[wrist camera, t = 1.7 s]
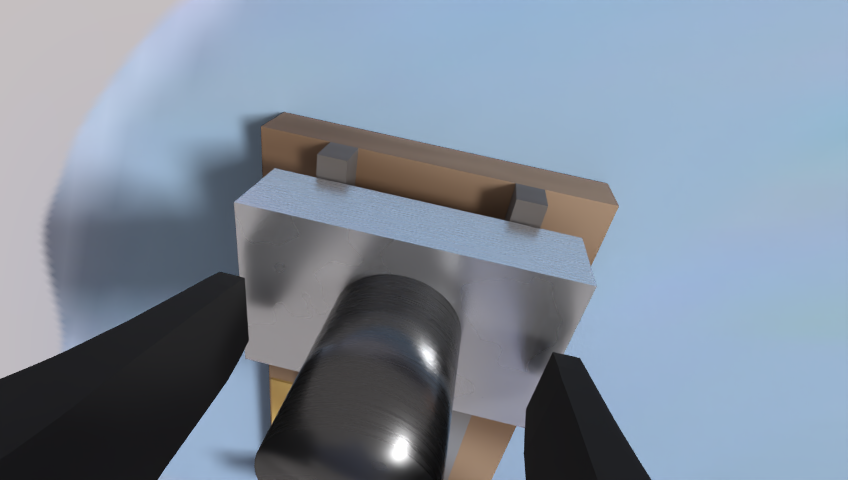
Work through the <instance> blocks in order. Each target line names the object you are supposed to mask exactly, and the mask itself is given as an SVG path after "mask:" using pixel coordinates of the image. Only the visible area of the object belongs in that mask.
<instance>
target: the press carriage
mask: <svg viewBox="0 0 848 480" xmlns="http://www.w3.org/2000/svg"><path fill="white" fill-rule="evenodd" d="M234 210H235V223H236V237H237V250H238V263H239V277H243V278H245V288H246V303H247V318H248V333H249V342H248V344H247V346H246V347H245V357H246V359H249V360H253V361H257V362H261V363H265V364H269V365H273V366H277V367H281V368H285V369H289V370H293V371H297V372H299V373H298V375H297V377H296V379H295V381H294V383H293V385H292V386H291V388H290V390H289V392H288V394H287V396H286V398H285V400H284V402H283V404H282V406H281V408H280V409H279V411H278V413H277V415H276V417H275V419H274V421H273V423H272V425H271V427H270V429H269V431H268V433H267V434H266V436H265V438H264V440H263V442H262V444H261V446H260V448H259V450H258V452H257V454H256V457H255V465H254V467H255V472H256V476H257V478H258V480H444V475H445V467H446V458H447V450H448V442H449V434H450V425H451V417H452V410H454V411H458V412H462V413H466V414H470V415H474V416H478V417H482V418H486V419H490V420H494V421H498V422H502V423H507V424H511V425H515V426H519V427H523V428H525V416H526V408H527V405H528V403H529V401H530V399H531V397H532V395H533V393H534V391H535V388H536V386H537V384H538V382H539V380H540V378H541V376H542V374H543V371H544V369H545V367H546V365H547V363H548V361H549V359H550V356H551V354H552V352H556V353H560V354H564V352H565V350H566V348H567V346H568V344H569V342H570V340H571V338H572V336H573V333H574V331H575V329H576V327H577V325H578V323H579V321H580V319H581V317H582V315H583V313H584V311H585V309H586V307H587V305H588V303H589V301H590V299H591V297H592V295H593V293H594V291H595V289H596V287H597V286H596V283H595V279H594V276H593V272H592V269H591V266H590V262H589V259H588V255H587V252H586V249H585V245H584V242H583V239H582V238H580V237H576V236H571V235H567V234H562V233H558V232H554V231H549V230H545V229H540V228H536V227H532V226H527V225H523V224H518V223H514V222H510V221H505V220H501V219H496V218H492V217H488V216H483V215H479V214H474V213H470V212H466V211H461V210H457V209H452V208H448V207H444V206H439V205H435V204H430V203H426V202H422V201H417V200H413V199H408V198H404V197H400V196H395V195H391V194H386V193H382V192H378V191H373V190H369V189H364V188H360V187H356V186H351V185H347V184H342V183H338V182H334V181H329V180H325V179H320V178H316V177H312V176H307V175H303V174H298V173H294V172H290V171H285V170H281V169H276V168H274V169H273V170H272V171H271V172H270V173H268V174H267V175H266V176H265V177H264V178H262V179H261V180H260V181H259V182H258V183H256V184H255V185H254V186H253V187H252V188H250V189H249V190H248V191H247V192H246V193H244V194H243V195H242V196H241V197H239V198H238V199H237V200H236V201H235V202H234Z"/></svg>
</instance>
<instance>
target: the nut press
mask: <svg viewBox="0 0 848 480" xmlns="http://www.w3.org/2000/svg"><path fill="white" fill-rule="evenodd" d="M261 142H262V172H263V178H264V177H265V176H266V175H267V174H268V173H270V172H271V171H272V170H273V169H274V168H276V169H281V170H285V171H290V172H294V173H298V174H303V175H307V176H312V177H316V178H320V179H325V180H329V181H334V182H338V183H342V184H347V185H351V186H356V187H360V188H364V189H369V190H373V191H378V192H382V193H386V194H391V195H395V196H400V197H404V198H408V199H413V200H417V201H422V202H426V203H430V204H435V205H439V206H444V207H448V208H452V209H457V210H461V211H466V212H470V213H474V214H479V215H483V216H488V217H492V218H496V219H501V220H505V221H510V222H514V223H518V224H523V225H527V226H532V227H536V228H540V229H545V230H549V231H554V232H558V233H562V234H567V235H571V236H576V237H580V238H582V239H583V242H584V245H585V249H586V252H587V255H588V259H589V262H590V266H591V265H592V263H593V261H594V258H595V256H596V254H597V252H598V250H599V248H600V246H601V243H602V241H603V239H604V237H605V235H606V233H607V231H608V228H609V226H610V224H611V222H612V220H613V218H614V216H615V213H616V211H617V209H618V207H619V206H618V203H617V201H616V199H615V197H614V195H613V193H612V191H611V189H610V187H609V185H608V184H607V183H602V182H598V181H593V180H589V179H584V178H580V177H575V176H571V175H566V174H562V173H557V172H553V171H548V170H544V169H539V168H535V167H530V166H526V165H521V164H516V163H512V162H507V161H503V160H498V159H494V158H489V157H485V156H480V155H476V154H471V153H467V152H462V151H458V150H453V149H449V148H444V147H440V146H435V145H431V144H426V143H421V142H417V141H412V140H408V139H403V138H399V137H394V136H390V135H385V134H381V133H376V132H372V131H367V130H363V129H358V128H354V127H349V126H345V125H340V124H336V123H331V122H326V121H322V120H317V119H313V118H308V117H304V116H299V115H295V114H290V113H286V112H284V113H282V114H280V115H279V116H277V117H275V118H274V119H272V120H271V121H269V122H267V123H266V124H264V125H262V126H261ZM298 373H299V372H297V371H293V370H289V369H285V368H281V367H277V366H273V365H269V381H270V411H271V425H272V423H273V421H274V419H275V417H276V415H277V413H278V411H279V409H280V408H281V406H282V404H283V402H284V400H285V398H286V396H287V394H288V392H289V390H290V388H291V386H292V385H293V383H294V381H295V379H296V377H297V375H298ZM515 428H516V426H515V425H511V424H507V423H502V422H498V421H494V420H490V419H486V418H482V417H478V416H474V415H470V414H466V413H462V412H458V411H454V410H452V417H451V425H450V434H449V442H448V450H447V458H446V467H445V475H444V480H491V479H492V477H493V475H494V473H495V471H496V469H497V467H498V464H499V462H500V460H501V458H502V456H503V454H504V452H505V449H506V447H507V445H508V443H509V441H510V439H511V437H512V434H513V432H514V430H515Z"/></svg>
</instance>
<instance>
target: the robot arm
mask: <svg viewBox="0 0 848 480" xmlns="http://www.w3.org/2000/svg"><path fill="white" fill-rule="evenodd" d="M248 342H249V333H248V318H247V303H246V288H245V278H243V277H239V276H235V275H231V274H227V273H223V272H218V273H216V274H215V275H213V276H211V277H209V278H207V279H205V280H203V281H201V282H199V283H197V284H196V285H194V286H192V287H190V288H188V289H186V290H185V291H183V292H181V293H179V294H177V295H175V296H174V297H172V298H170V299H168V300H166V301H164V302H162V303H161V304H159V305H157V306H155V307H153V308H151V309H149V310H147V311H146V312H144V313H142V314H140V315H138V316H136V317H134V318H132V319H130V320H129V321H127V322H125V323H123V324H121V325H119V326H117V327H114V328H112V329H110V330H108V331H106V332H104V333H102V334H100V335H98V336H96V337H94V338H92V339H90V340H88V341H86V342H84V343H82V344H79V345H77V346H75V347H73V348H71V349H69V350H67V351H65V352H63V353H60V354H58V355H56V356H54V357H52V358H49V359H47V360H45V361H42V362H40V363H38V364H35V365H33V366H31V367H28V368H26V369H23V370H21V371H19V372H16V373H14V374H11V375H9V376H6V377H4V378H1V379H0V480H158V478H159V477H160V475H161V474H162V472H163V471H164V469H165V468H166V466H167V465H168V464H169V462H170V461H171V459H172V458H173V457H174V455H175V454H176V452H177V451H178V450H179V448H180V447H181V445H182V444H183V443H184V441H185V440H186V438H187V437H188V436H189V434H190V433H191V431H192V430H193V429H194V427H195V426H196V424H197V423H198V422H199V420H200V419H201V417H202V416H203V415H204V413H205V412H206V410H207V409H208V408H209V406H210V405H211V403H212V402H213V400H214V399H215V398H216V396H217V395H218V393H219V392H220V391H221V389H222V388H223V386H224V385H225V383H226V382H227V380H228V379H229V377H230V375H231V373H232V372H233V370H234V368H235V366H236V365H237V363H238V361H239V359H240V357H241V355H242V353H243V351H244V349H245V347H246V346H247V344H248ZM524 460H525V474H526V480H651V479H650V477H649V475H648V474H647V472H646V471H645V469H644V468H643V466H642V464H641V463H640V461H639V460H638V458H637V456H636V455H635V453H634V451H633V450H632V448H631V446H630V445H629V443H628V441H627V440H626V438H625V437H624V435H623V433H622V432H621V430H620V428H619V426H618V425H617V423H616V421H615V420H614V418H613V416H612V414H611V413H610V411H609V409H608V407H607V406H606V404H605V402H604V400H603V398H602V397H601V395H600V393H599V391H598V390H597V388H596V386H595V384H594V382H593V381H592V379H591V377H590V375H589V373H588V372H587V370H586V368H585V366H584V365H583V363H582V361H581V359H580V358H577V357H573V356H569V355H564V354H560V353H556V352H552V354H551V356H550V359H549V361H548V363H547V365H546V367H545V369H544V371H543V374H542V376H541V378H540V380H539V382H538V384H537V386H536V388H535V391H534V393H533V395H532V397H531V399H530V401H529V403H528V405H527V408H526V416H525V439H524Z"/></svg>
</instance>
